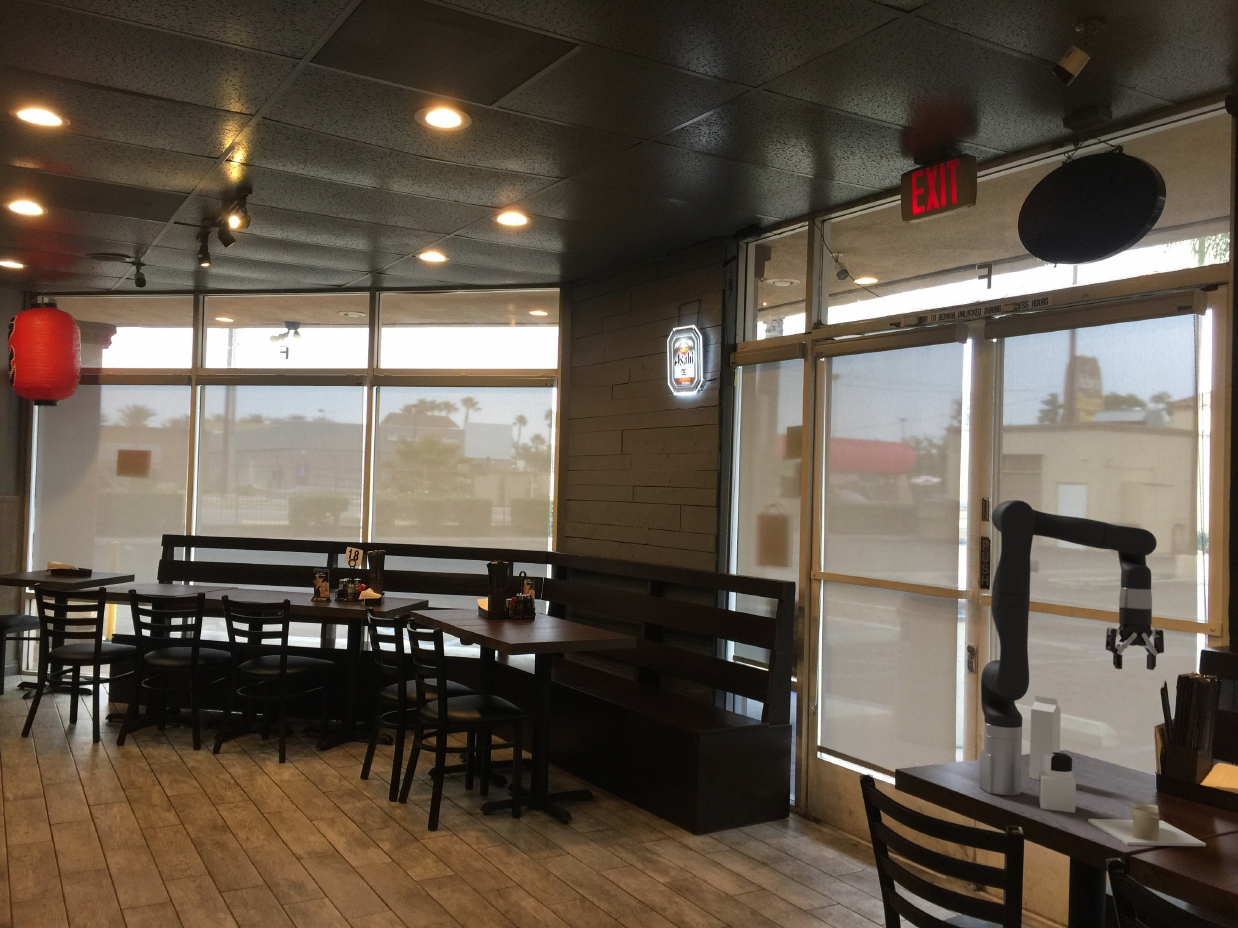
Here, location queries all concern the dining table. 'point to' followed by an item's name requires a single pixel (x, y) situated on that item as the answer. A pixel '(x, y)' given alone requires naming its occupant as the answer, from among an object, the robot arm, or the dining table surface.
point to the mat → (1125, 834)
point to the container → (1057, 783)
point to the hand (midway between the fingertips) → (1134, 669)
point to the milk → (1043, 732)
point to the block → (1145, 821)
